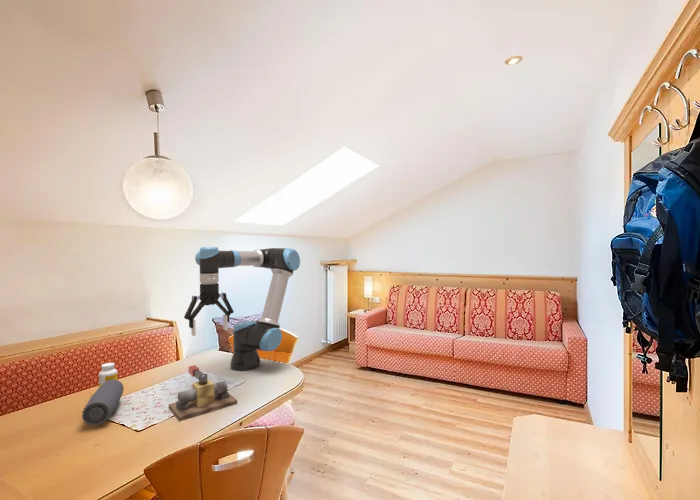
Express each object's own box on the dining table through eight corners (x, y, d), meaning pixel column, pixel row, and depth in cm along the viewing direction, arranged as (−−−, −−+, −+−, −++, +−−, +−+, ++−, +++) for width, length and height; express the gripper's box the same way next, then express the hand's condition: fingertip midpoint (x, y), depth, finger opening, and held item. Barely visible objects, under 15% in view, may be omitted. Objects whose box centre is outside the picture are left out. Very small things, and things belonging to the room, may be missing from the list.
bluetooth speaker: (98, 404, 149) (98, 379, 149) (125, 400, 152) (124, 376, 152) (80, 431, 128) (79, 403, 127) (111, 426, 131) (110, 398, 131)
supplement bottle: (121, 391, 161) (120, 362, 161) (110, 397, 155) (109, 367, 154) (107, 390, 162) (106, 361, 162) (95, 396, 155) (94, 366, 155)
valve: (223, 392, 160) (223, 372, 159) (237, 403, 149) (237, 381, 149) (168, 407, 145) (168, 385, 145) (179, 421, 135) (179, 396, 134)
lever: (208, 382, 147) (208, 375, 147) (200, 384, 145) (200, 377, 145) (195, 372, 159) (195, 365, 158) (187, 373, 156) (187, 366, 156)
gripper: (181, 286, 146) (182, 339, 147) (240, 281, 162) (241, 329, 163) (175, 284, 152) (176, 335, 152) (233, 280, 168) (234, 326, 169)
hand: (209, 332), depth 158 cm, fingers open, 13 cm apart
